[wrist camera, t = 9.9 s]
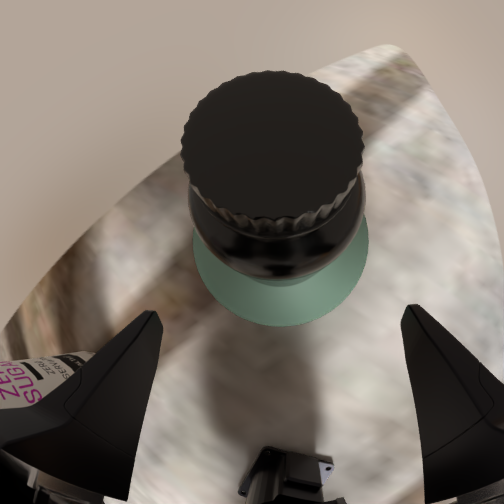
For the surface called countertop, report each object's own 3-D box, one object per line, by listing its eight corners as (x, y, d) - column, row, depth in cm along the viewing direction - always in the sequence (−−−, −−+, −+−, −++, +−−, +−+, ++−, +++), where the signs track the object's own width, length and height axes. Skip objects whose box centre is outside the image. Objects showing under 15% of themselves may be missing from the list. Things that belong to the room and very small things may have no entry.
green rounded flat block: (327, 344, 19) (334, 351, 16) (183, 288, 21) (167, 286, 18) (373, 200, 21) (384, 186, 18) (238, 157, 23) (231, 138, 20)
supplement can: (83, 424, 20) (-21, 466, 5) (63, 351, 22) (-57, 361, 7) (143, 430, 19) (31, 506, 5) (119, 347, 21) (-27, 369, 6)
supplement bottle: (209, 249, 18) (100, 171, 7) (268, 171, 19) (242, 30, 7) (293, 310, 17) (309, 330, 5) (351, 224, 18) (431, 115, 6)
